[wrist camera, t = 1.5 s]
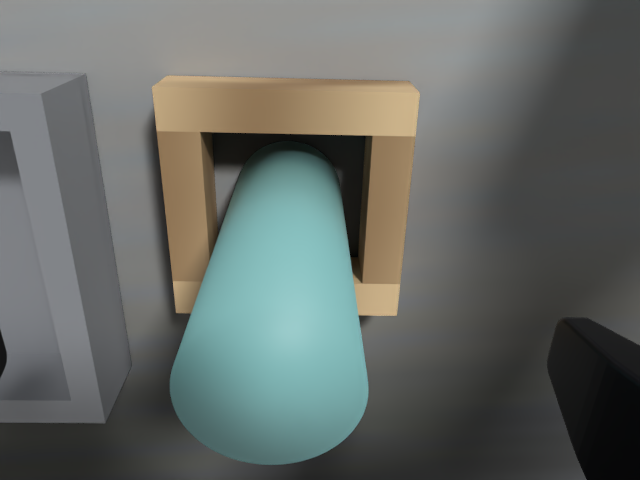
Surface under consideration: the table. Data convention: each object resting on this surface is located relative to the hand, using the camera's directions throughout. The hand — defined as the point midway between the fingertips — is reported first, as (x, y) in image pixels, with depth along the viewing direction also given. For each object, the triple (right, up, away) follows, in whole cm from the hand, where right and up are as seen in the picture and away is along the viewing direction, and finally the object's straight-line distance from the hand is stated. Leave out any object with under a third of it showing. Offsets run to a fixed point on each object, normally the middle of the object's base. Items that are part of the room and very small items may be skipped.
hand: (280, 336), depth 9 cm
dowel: (0, +3, +6) cm, 7 cm away
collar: (0, +3, +6) cm, 7 cm away
